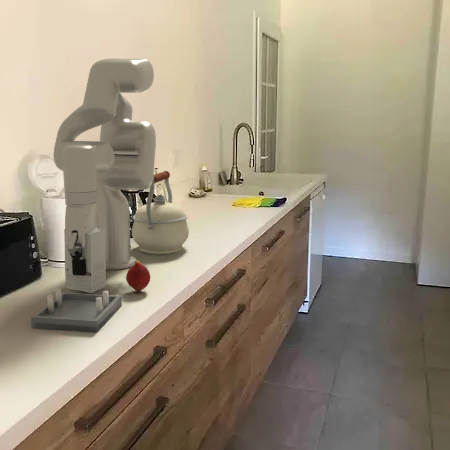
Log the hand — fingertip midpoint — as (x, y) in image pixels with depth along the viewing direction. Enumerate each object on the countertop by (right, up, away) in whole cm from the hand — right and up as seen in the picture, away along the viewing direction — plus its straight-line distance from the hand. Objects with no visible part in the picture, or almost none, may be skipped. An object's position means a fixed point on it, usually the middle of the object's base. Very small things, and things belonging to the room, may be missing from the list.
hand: (86, 269), depth 125 cm
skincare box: (0, -5, +1) cm, 5 cm away
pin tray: (+2, -9, -13) cm, 16 cm away
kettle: (+13, +3, +45) cm, 47 cm away
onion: (+12, -6, +3) cm, 14 cm away
